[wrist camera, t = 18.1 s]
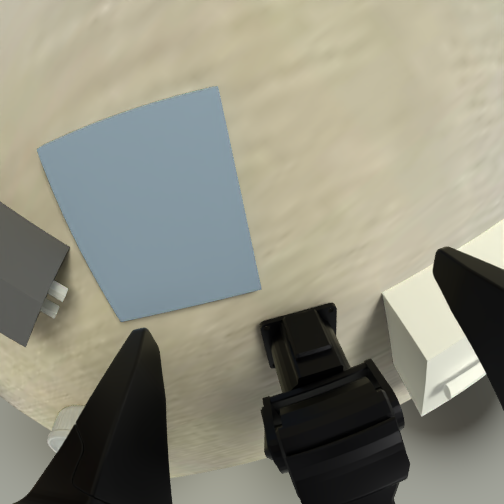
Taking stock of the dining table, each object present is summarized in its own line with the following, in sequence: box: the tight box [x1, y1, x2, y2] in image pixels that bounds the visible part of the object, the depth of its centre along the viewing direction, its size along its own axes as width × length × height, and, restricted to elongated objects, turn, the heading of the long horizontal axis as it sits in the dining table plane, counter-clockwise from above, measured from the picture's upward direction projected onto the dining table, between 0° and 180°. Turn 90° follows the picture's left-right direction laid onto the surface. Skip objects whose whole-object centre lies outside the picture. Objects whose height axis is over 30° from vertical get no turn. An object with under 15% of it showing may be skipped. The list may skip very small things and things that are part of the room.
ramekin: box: [47, 405, 85, 453], centre depth 30 cm, size 11×11×5 cm
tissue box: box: [382, 219, 504, 416], centre depth 26 cm, size 14×25×11 cm, turn 115°
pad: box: [37, 86, 261, 322], centre depth 19 cm, size 14×11×1 cm
